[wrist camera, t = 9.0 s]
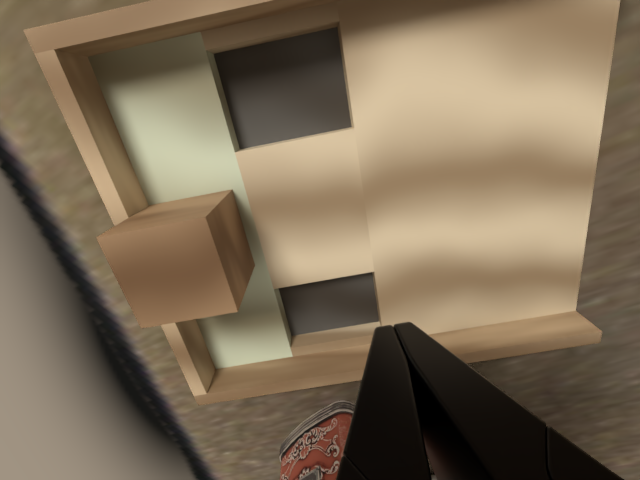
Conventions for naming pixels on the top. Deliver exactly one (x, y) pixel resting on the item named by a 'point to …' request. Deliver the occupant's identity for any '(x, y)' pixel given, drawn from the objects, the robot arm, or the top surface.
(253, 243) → the box
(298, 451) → the lighter
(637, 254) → the top surface
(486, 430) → the robot arm
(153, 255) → the block
